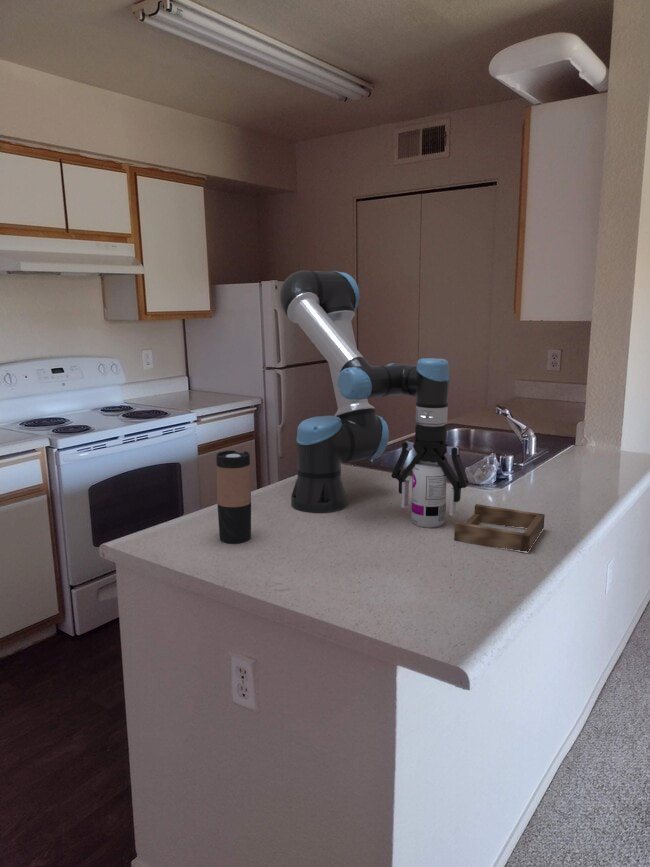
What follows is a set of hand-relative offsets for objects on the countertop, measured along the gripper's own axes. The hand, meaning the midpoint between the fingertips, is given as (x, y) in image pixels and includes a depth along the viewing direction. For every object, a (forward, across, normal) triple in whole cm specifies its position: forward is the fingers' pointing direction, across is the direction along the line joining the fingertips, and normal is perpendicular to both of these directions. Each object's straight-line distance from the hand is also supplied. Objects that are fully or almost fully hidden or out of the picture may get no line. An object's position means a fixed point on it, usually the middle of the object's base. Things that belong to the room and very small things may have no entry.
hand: (428, 510), depth 159 cm
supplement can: (+3, 0, 0) cm, 3 cm away
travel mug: (+3, -35, -32) cm, 48 cm away
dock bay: (+3, +18, 0) cm, 18 cm away
